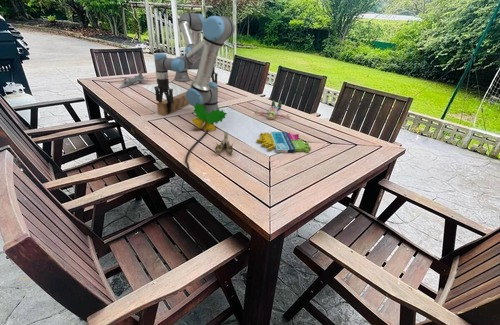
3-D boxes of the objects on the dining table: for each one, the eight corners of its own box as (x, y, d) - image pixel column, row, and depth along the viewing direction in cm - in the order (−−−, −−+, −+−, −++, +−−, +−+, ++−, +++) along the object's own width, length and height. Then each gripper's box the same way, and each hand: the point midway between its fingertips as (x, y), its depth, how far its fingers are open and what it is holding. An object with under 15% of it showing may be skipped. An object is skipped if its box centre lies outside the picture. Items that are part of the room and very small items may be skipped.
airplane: (115, 80, 258) (112, 69, 253) (148, 78, 271) (147, 68, 266) (118, 90, 229) (115, 78, 224) (155, 87, 243) (153, 76, 238)
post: (164, 115, 180) (163, 104, 176) (158, 114, 182) (157, 103, 178) (215, 91, 244) (215, 83, 240) (210, 90, 246) (210, 82, 242)
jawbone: (234, 135, 144) (233, 125, 135) (233, 160, 138) (232, 151, 129) (217, 135, 144) (216, 125, 135) (216, 160, 138) (214, 150, 129)
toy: (294, 102, 205) (291, 112, 179) (293, 111, 208) (289, 122, 182) (260, 97, 210) (251, 107, 184) (259, 106, 213) (250, 117, 187)
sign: (313, 150, 142) (258, 149, 139) (312, 153, 143) (258, 152, 140) (301, 132, 164) (254, 130, 161) (301, 134, 165) (254, 133, 162)
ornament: (218, 133, 171) (224, 110, 169) (221, 134, 163) (227, 111, 161) (186, 125, 162) (192, 101, 160) (189, 126, 155) (195, 101, 153)
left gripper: (221, 66, 230) (221, 92, 241) (203, 63, 235) (203, 89, 246) (217, 67, 223) (217, 94, 235) (198, 64, 229) (199, 91, 240)
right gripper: (177, 79, 174) (180, 112, 186) (154, 75, 179) (158, 108, 191) (170, 81, 168) (173, 115, 179) (147, 77, 173) (151, 111, 184)
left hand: (210, 91), depth 240 cm, fingers closed on post, 5 cm apart
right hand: (165, 111), depth 185 cm, fingers closed on post, 5 cm apart
